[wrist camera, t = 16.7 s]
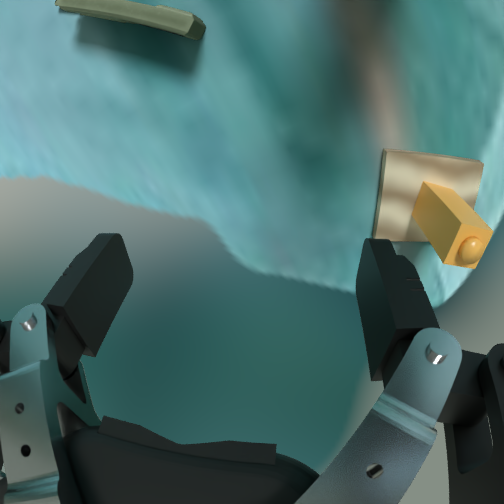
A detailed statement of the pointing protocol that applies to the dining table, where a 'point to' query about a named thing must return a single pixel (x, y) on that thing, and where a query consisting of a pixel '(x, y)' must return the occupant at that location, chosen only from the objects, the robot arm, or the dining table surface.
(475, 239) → the tall orange toy brick
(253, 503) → the robot arm
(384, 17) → the dining table surface
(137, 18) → the handheld radio
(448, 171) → the beige board with knob
